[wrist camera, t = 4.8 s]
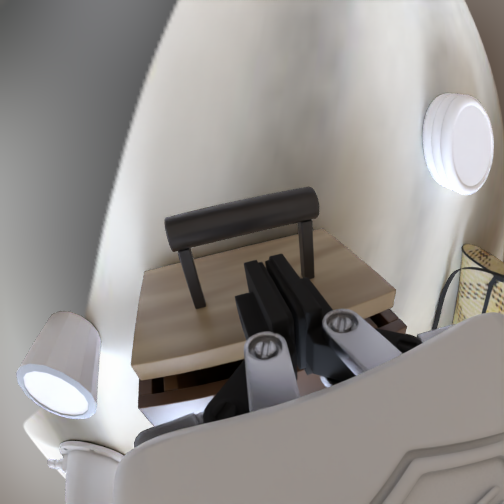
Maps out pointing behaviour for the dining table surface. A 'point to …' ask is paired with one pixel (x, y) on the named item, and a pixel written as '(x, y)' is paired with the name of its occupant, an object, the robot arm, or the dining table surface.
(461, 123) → the white round disc
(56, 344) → the white cylinder
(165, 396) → the cabinet
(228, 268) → the drawer
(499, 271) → the clutch purse
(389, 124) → the dining table surface
